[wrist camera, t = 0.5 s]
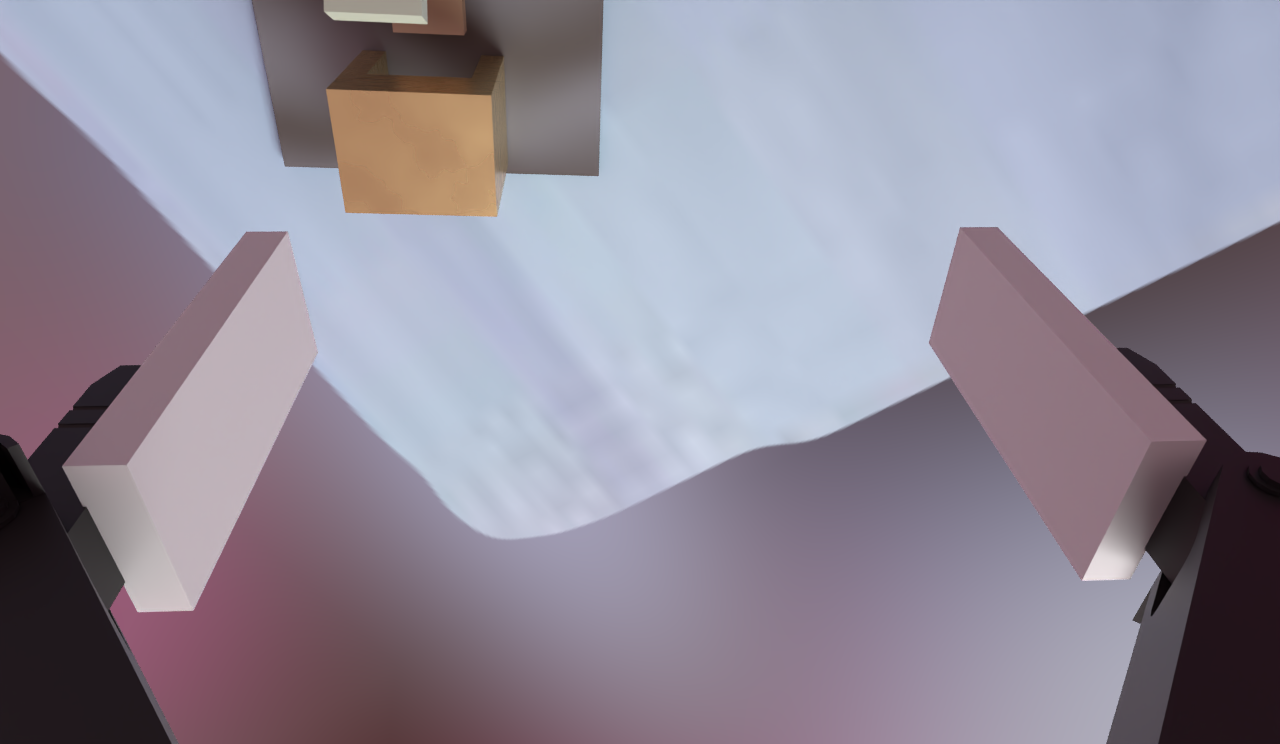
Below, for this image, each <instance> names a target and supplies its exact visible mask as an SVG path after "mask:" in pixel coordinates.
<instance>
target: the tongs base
mask: <svg viewBox="0 0 1280 744" xmlns="http://www.w3.org/2000/svg"><path fill="white" fill-rule="evenodd" d="M252 3H253V8H254V13H255V18H256V23H257V28H258V33H259V38H260V43H261V48H262V53H263V58H264V63H265V68H266V74H267V79H268V84H269V89H270V94H271V99H272V104H273V109H274V114H275V119H276V124H277V129H278V134H279V139H280V144H281V149H282V154H283V159H284V164H285V166H287V167H320V168H338V162H337V155H336V149H335V143H334V137H333V130H332V124H331V118H330V112H329V105H328V99H327V93H326V89H327V87H328V86H329V85H330V84H331V83H332V82H333V81H334V80H335V79H336V78H337V77H338V76H339V75H340V74H341V73H342V72H343V71H344V70H345V68H346V67H347V66H348V65H349V64H350V63H351V62H352V61H353V60H354V59H355V58H356V57H357V56H358V55H359V54H360V53H361V52H362V51H363V50H369V51H386V57H387V66H388V74H389V75H407V76H432V77H457V78H472V76H473V74H474V72H475V69H476V67H477V65H478V62H479V60H480V57H481V55H487V56H504V71H505V97H506V124H507V150H508V167H507V171H506V173H516V174H548V175H581V176H599V141H600V104H601V67H602V30H603V0H427V17H428V24H410V23H388V22H366V21H344V20H333V19H332V18H331V17H330V16H328V15H327V14H326V13H325V12H324V0H252Z"/></svg>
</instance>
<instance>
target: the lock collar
mask: <svg viewBox="0 0 1280 744" xmlns="http://www.w3.org/2000/svg"><path fill="white" fill-rule="evenodd" d="M326 93H327V99H328V105H329V112H330V118H331V124H332V130H333V137H334V143H335V149H336V155H337V162H338V168H339V174H340V180H341V187H342V193H343V199H344V205H345V212H346V213H379V214H417V215H455V216H493V217H497V214H498V209H499V205H500V200H501V195H502V190H503V186H504V181H505V176H506V171H507V167H508V150H507V124H506V97H505V71H504V56H487V55H481V57H480V60H479V62H478V65H477V67H476V69H475V72H474V74H473V76H472V78H457V77H432V76H407V75H389V74H388V66H387V57H386V51H369V50H363V51H362V52H361V53H360V54H359V55H358V56H357V57H356V58H355V59H354V60H353V61H352V62H351V63H350V64H349V65H348V66H347V67H346V68H345V70H344V71H343V72H342V73H341V74H340V75H339V76H338V77H337V78H336V79H335V80H334V81H333V82H332V83H331V84H330V85H329V86H328V87H327V89H326Z"/></svg>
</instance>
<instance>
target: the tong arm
mask: <svg viewBox="0 0 1280 744" xmlns="http://www.w3.org/2000/svg"><path fill="white" fill-rule="evenodd" d="M324 12H325V13H326V14H327V15H328V16H330V17H331V18H332V19H333V20H344V21H366V22H388V23H410V24H428V17H427V0H324Z"/></svg>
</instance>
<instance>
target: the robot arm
mask: <svg viewBox="0 0 1280 744" xmlns="http://www.w3.org/2000/svg"><path fill="white" fill-rule="evenodd" d="M929 344H930V346H931V347H932V349H933V350H934V352H935V353H936V355H937V356H938V358H939V360H940V361H941V363H942V364H943V366H944V367H945V369H946V370H947V372H948V374H949V375H950V377H951V378H952V380H953V381H954V383H955V384H956V386H957V388H958V389H959V391H960V392H961V394H962V395H963V397H964V398H965V400H966V402H967V403H968V405H969V406H970V408H971V409H972V411H973V412H974V414H975V415H976V417H977V419H978V420H979V422H980V423H981V425H982V426H983V428H984V429H985V431H986V433H987V434H988V436H989V437H990V439H991V440H992V442H993V443H994V445H995V446H996V448H997V449H998V451H999V453H1000V454H1001V456H1002V457H1003V459H1004V460H1005V462H1006V463H1007V465H1008V467H1009V468H1010V470H1011V471H1012V473H1013V474H1014V476H1015V478H1016V479H1017V481H1018V482H1019V484H1020V485H1021V487H1022V488H1023V490H1024V492H1025V493H1026V495H1027V496H1028V498H1029V499H1030V501H1031V502H1032V504H1033V506H1034V507H1035V509H1036V510H1037V512H1038V513H1039V515H1040V516H1041V518H1042V520H1043V521H1044V523H1045V524H1046V526H1047V527H1048V529H1049V530H1050V532H1051V533H1052V535H1053V537H1054V538H1055V540H1056V541H1057V543H1058V544H1059V546H1060V547H1061V549H1062V551H1063V552H1064V554H1065V555H1066V557H1067V558H1068V560H1069V561H1070V563H1071V565H1072V566H1073V568H1074V569H1075V571H1076V572H1077V574H1078V575H1079V577H1080V579H1081V580H1082V581H1085V580H1086V581H1087V580H1118V579H1131V577H1132V575H1133V573H1134V571H1135V569H1136V568H1137V566H1138V564H1139V562H1140V560H1141V559H1142V557H1143V555H1144V553H1145V551H1147V552H1148V553H1149V555H1150V556H1151V557H1152V559H1153V560H1154V561H1155V563H1156V564H1157V565H1158V567H1159V568H1160V569H1161V572H1160V573H1159V575H1158V577H1157V579H1156V581H1155V582H1154V584H1153V586H1152V587H1151V589H1150V591H1149V593H1148V594H1147V596H1146V598H1145V599H1144V601H1143V603H1142V605H1141V606H1140V608H1139V610H1138V612H1137V613H1136V615H1135V617H1134V619H1133V621H1135V622H1138V623H1141V626H1140V629H1139V633H1138V636H1137V639H1136V644H1135V646H1134V650H1133V653H1132V657H1131V661H1130V664H1129V668H1128V671H1127V674H1126V678H1125V681H1124V685H1123V688H1122V691H1121V695H1120V698H1119V702H1118V705H1117V709H1116V712H1115V716H1114V719H1113V723H1112V726H1111V730H1110V733H1109V736H1108V740H1107V743H1106V744H1280V457H1276V456H1272V455H1268V454H1264V453H1258V452H1245V451H1244V450H1243V449H1242V448H1241V447H1240V446H1239V445H1238V444H1237V443H1236V442H1235V441H1234V440H1233V439H1232V438H1231V437H1230V436H1229V435H1228V434H1227V433H1226V432H1225V431H1224V430H1223V429H1221V427H1220V426H1219V425H1218V424H1216V423H1215V422H1214V421H1213V420H1212V419H1211V418H1210V417H1209V416H1208V415H1207V414H1206V413H1205V412H1204V411H1203V410H1202V409H1201V408H1200V407H1199V406H1198V405H1197V404H1196V403H1192V402H1191V401H1192V400H1191V398H1190V397H1189V396H1188V395H1187V394H1186V393H1184V391H1183V390H1182V389H1181V388H1176V386H1175V385H1176V384H1175V382H1173V381H1172V380H1171V379H1170V378H1169V377H1168V376H1167V375H1166V374H1165V373H1164V372H1163V371H1162V370H1161V369H1160V368H1159V367H1158V366H1157V365H1156V364H1154V363H1152V362H1151V361H1149V360H1147V359H1146V358H1144V357H1142V356H1141V355H1139V354H1137V353H1135V352H1133V351H1132V350H1130V349H1128V348H1116V347H1115V346H1114V345H1113V344H1112V343H1111V342H1110V341H1109V340H1108V339H1107V338H1106V337H1105V336H1104V335H1103V334H1102V333H1101V332H1100V331H1099V330H1098V329H1097V328H1096V327H1095V326H1094V325H1093V324H1092V323H1091V322H1090V321H1089V320H1088V319H1087V318H1086V317H1085V316H1084V315H1083V314H1082V313H1081V312H1080V311H1079V310H1078V309H1077V308H1076V307H1075V306H1074V305H1073V304H1072V303H1071V302H1070V301H1069V300H1068V299H1067V298H1066V297H1065V296H1064V295H1063V294H1062V292H1061V291H1060V290H1059V289H1058V288H1057V287H1056V286H1055V285H1054V284H1053V283H1052V282H1051V281H1050V280H1049V279H1048V278H1047V277H1046V276H1045V275H1044V274H1043V273H1042V272H1041V271H1040V270H1039V269H1038V268H1037V267H1036V266H1035V265H1034V264H1033V263H1032V262H1031V261H1030V260H1029V259H1028V258H1027V257H1026V256H1025V255H1024V254H1023V253H1022V252H1021V251H1020V250H1019V249H1018V248H1017V247H1016V246H1015V245H1014V244H1013V243H1012V242H1011V241H1010V240H1009V239H1008V238H1007V237H1006V235H1005V234H1004V233H1003V232H1002V231H1001V230H1000V229H999V228H998V227H960V230H959V234H958V237H957V241H956V245H955V248H954V252H953V256H952V259H951V263H950V267H949V271H948V274H947V278H946V282H945V285H944V289H943V293H942V296H941V300H940V304H939V308H938V311H937V315H936V319H935V322H934V326H933V330H932V334H931V337H930V341H929ZM317 353H318V350H317V347H316V343H315V339H314V335H313V331H312V327H311V323H310V319H309V315H308V311H307V307H306V303H305V299H304V295H303V291H302V287H301V283H300V279H299V275H298V271H297V267H296V263H295V259H294V255H293V251H292V247H291V243H290V239H289V235H288V232H246V233H245V234H244V235H243V237H242V238H241V239H240V241H239V242H238V243H237V244H236V246H235V247H234V248H233V249H232V251H231V252H230V253H229V254H228V256H227V257H226V258H225V260H224V261H223V262H222V263H221V265H220V266H219V267H218V268H217V270H216V271H215V272H214V274H213V275H212V276H211V277H210V279H209V280H208V281H207V282H206V284H205V285H204V286H203V288H202V289H201V290H200V292H199V293H198V294H197V295H196V296H195V298H194V299H193V300H192V302H191V303H190V304H189V306H188V307H187V308H186V309H185V311H184V312H183V313H182V314H181V316H180V317H179V318H178V319H177V321H176V322H175V323H174V325H173V326H172V327H171V328H170V330H169V331H168V332H167V334H166V335H165V336H164V337H163V339H162V340H161V341H160V342H159V344H158V345H157V346H156V347H155V349H154V350H153V351H152V352H151V354H150V355H149V356H148V358H147V359H146V360H145V361H144V363H143V364H142V365H129V366H128V365H125V366H119V367H118V368H116V369H115V370H113V371H112V372H110V373H108V374H107V375H105V376H104V377H102V378H101V379H99V380H98V381H96V382H95V383H93V384H92V385H91V386H90V387H89V388H88V389H87V390H86V391H85V393H84V394H83V395H82V396H81V397H80V399H79V400H78V401H77V402H76V403H75V404H74V406H73V410H70V411H69V412H68V413H67V414H66V415H65V416H64V417H63V419H62V420H61V421H60V422H59V423H58V425H59V427H58V428H54V429H53V430H52V432H51V433H50V434H49V435H48V436H47V438H46V439H45V440H44V441H43V442H42V444H41V445H40V446H39V447H38V448H37V449H36V451H35V452H34V453H33V454H32V455H31V456H30V458H29V459H28V460H27V458H26V456H25V455H24V453H23V451H22V449H21V447H20V445H19V444H18V443H17V442H16V441H14V440H13V439H12V438H11V437H10V436H6V435H1V434H0V744H179V743H178V741H177V739H176V738H175V736H174V733H173V732H172V730H171V728H170V726H169V724H168V722H167V720H166V718H165V716H164V714H163V712H162V710H161V708H160V706H159V704H158V702H157V700H156V698H155V696H154V694H153V692H152V690H151V688H150V686H149V684H148V683H147V681H146V679H145V677H144V675H143V673H142V671H141V669H140V667H139V665H138V663H137V661H136V659H135V657H134V655H133V653H132V652H131V649H130V647H129V645H128V643H127V641H126V640H125V638H124V636H123V633H122V632H121V630H120V628H119V626H118V624H117V622H116V620H115V618H114V616H113V615H112V613H111V611H110V607H111V605H112V603H113V602H114V600H115V599H116V597H117V595H118V593H119V592H120V590H121V588H122V587H123V585H124V587H125V588H126V590H127V592H128V594H129V596H130V598H131V600H132V602H133V604H134V606H135V607H136V610H137V611H138V612H158V611H188V610H194V608H195V606H196V604H197V602H198V600H199V598H200V596H201V594H202V592H203V589H204V587H205V585H206V583H207V581H208V579H209V577H210V575H211V573H212V571H213V568H214V567H215V564H216V562H217V560H218V558H219V556H220V554H221V552H222V550H223V548H224V546H225V544H226V542H227V540H228V538H229V536H230V533H231V531H232V529H233V527H234V525H235V523H236V521H237V519H238V517H239V515H240V513H241V511H242V509H243V507H244V504H245V502H246V500H247V498H248V496H249V494H250V492H251V490H252V488H253V486H254V484H255V482H256V480H257V477H258V475H259V473H260V471H261V469H262V467H263V465H264V463H265V461H266V459H267V456H268V455H269V453H270V451H271V448H272V446H273V444H274V442H275V440H276V438H277V436H278V434H279V432H280V430H281V428H282V426H283V423H284V422H285V419H286V417H287V415H288V413H289V411H290V409H291V407H292V405H293V403H294V401H295V399H296V397H297V395H298V393H299V390H300V388H301V386H302V384H303V382H304V380H305V378H306V376H307V374H308V372H309V370H310V368H311V366H312V364H313V361H314V359H315V357H316V355H317Z"/></svg>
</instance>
